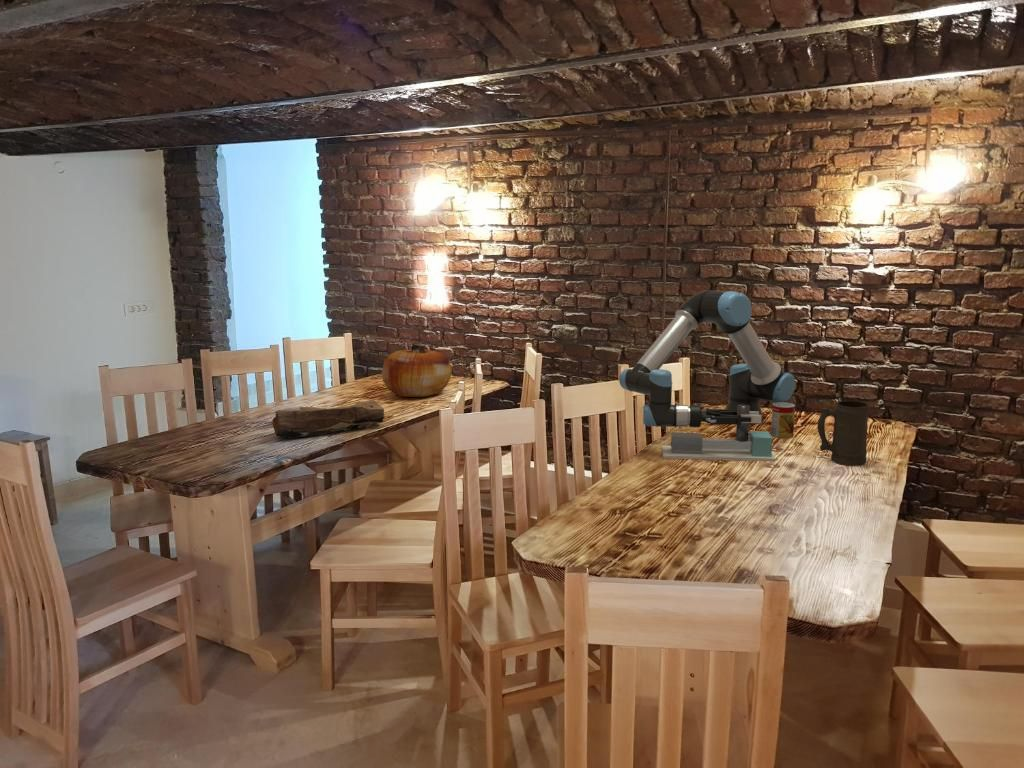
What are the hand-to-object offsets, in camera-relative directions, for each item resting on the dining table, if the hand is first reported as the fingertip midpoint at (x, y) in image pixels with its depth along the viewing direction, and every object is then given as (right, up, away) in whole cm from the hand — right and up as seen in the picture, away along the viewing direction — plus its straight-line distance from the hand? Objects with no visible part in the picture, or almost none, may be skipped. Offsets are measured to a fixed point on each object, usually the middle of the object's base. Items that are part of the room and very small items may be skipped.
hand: (759, 417), depth 249 cm
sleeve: (-23, -12, +6) cm, 27 cm away
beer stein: (+25, -14, -5) cm, 29 cm away
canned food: (+17, -8, +26) cm, 32 cm away
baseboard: (-13, -13, +5) cm, 19 cm away
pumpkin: (-129, +6, +108) cm, 169 cm away
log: (-156, -8, +45) cm, 163 cm away
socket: (+1, -12, +2) cm, 13 cm away
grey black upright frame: (-9, -11, +4) cm, 15 cm away
